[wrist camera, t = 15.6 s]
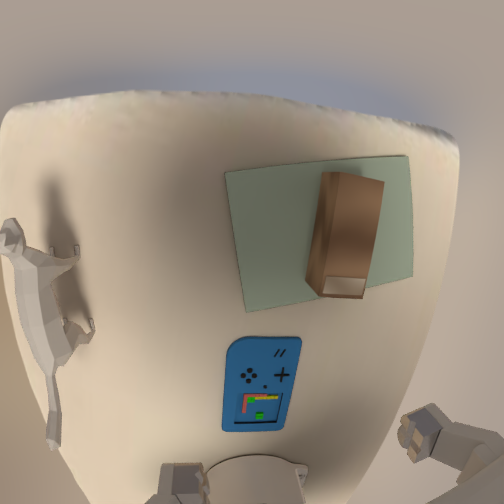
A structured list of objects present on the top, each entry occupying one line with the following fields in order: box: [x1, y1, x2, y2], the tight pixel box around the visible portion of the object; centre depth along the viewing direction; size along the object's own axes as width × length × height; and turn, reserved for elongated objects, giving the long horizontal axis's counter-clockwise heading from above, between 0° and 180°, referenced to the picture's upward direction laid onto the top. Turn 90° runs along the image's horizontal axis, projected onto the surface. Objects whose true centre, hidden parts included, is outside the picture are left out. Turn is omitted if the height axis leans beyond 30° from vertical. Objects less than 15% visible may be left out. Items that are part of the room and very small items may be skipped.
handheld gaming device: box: [222, 337, 302, 432], centre depth 34 cm, size 8×1×15 cm
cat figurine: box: [0, 218, 95, 451], centre depth 22 cm, size 4×20×14 cm, turn 1°
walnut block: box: [305, 172, 385, 299], centre depth 28 cm, size 11×4×5 cm, turn 173°
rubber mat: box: [225, 156, 413, 313], centre depth 30 cm, size 14×20×1 cm
